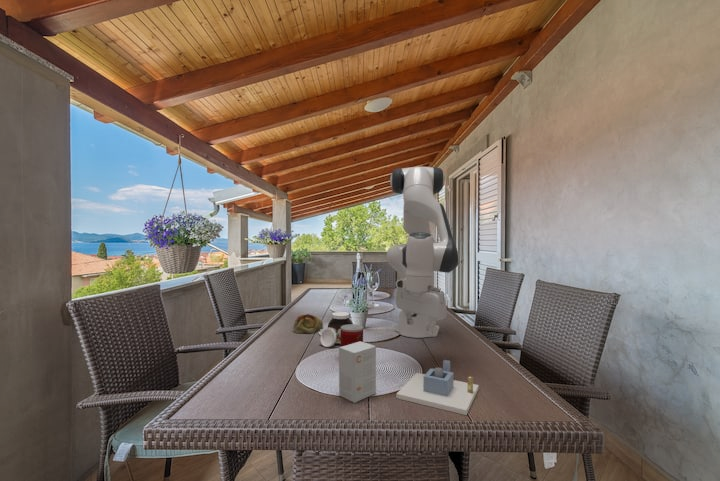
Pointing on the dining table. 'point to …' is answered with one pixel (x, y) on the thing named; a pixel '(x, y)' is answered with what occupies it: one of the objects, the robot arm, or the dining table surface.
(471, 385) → the dowel
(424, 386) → the grey socket with handle
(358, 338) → the canned food
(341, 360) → the small box
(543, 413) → the dining table surface
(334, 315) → the spread jar
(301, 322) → the pastry
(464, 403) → the post board
